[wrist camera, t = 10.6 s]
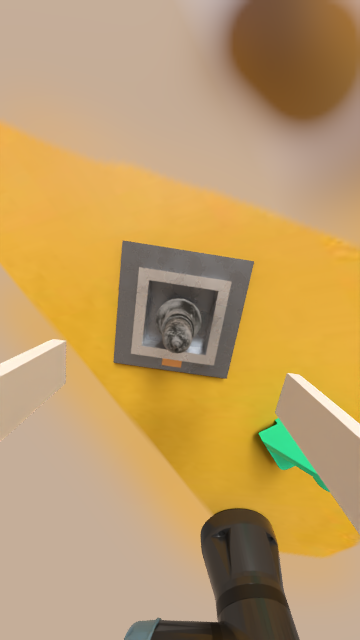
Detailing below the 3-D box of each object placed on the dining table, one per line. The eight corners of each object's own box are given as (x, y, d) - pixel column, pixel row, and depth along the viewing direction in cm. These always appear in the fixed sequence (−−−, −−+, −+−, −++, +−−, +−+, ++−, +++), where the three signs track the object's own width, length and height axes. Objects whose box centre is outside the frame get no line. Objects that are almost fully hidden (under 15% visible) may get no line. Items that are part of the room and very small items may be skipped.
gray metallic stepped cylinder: (159, 335, 28) (143, 378, 16) (158, 295, 26) (138, 311, 15) (198, 334, 28) (211, 377, 16) (199, 295, 26) (212, 310, 15)
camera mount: (274, 457, 34) (312, 531, 24) (255, 427, 33) (288, 494, 23) (335, 429, 33) (403, 496, 23) (319, 397, 31) (384, 454, 21)
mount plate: (225, 375, 30) (230, 387, 27) (115, 359, 30) (107, 370, 26) (251, 262, 26) (261, 259, 23) (124, 241, 26) (116, 236, 22)
